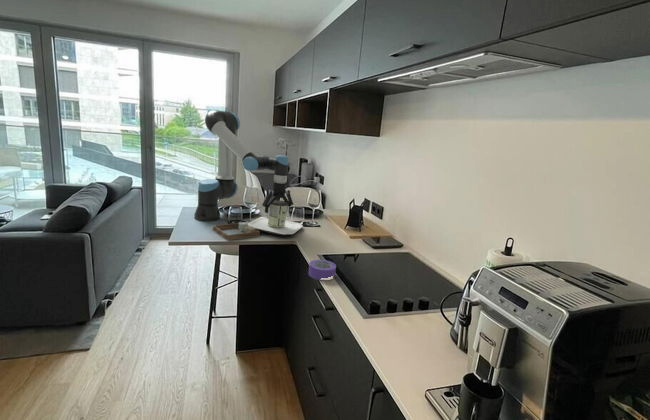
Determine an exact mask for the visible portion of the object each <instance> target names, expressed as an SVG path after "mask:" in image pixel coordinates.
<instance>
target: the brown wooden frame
mask: <svg viewBox="0 0 650 420" xmlns="http://www.w3.org/2000/svg"><path fill="white" fill-rule="evenodd" d="M239 223H240V222H236V223H227V224H224V223H223V224H217V225H216V224H215V225H212V231H214V232H215V233H217V234H218V235H219V236H221V237H222V238H223V239H225V240H226V241H231V240H239V239H246V238H247V239H248V238H252V237H253V238H254V237H260V233H261V231H258V230H256V229H255V232H248V233H245V232H242V233H234V234H233V233H232V234H228V233H227V232H225V231H223V230H228V229H236V228H237V229H238V226H239Z"/></svg>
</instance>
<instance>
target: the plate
mask: <svg viewBox="0 0 650 420" xmlns="http://www.w3.org/2000/svg"><path fill="white" fill-rule="evenodd" d="M265 217H266V216H260V217H257V218H256V219H254V220H251V221H249V222H246V223H247V224H248V226H252V227H254V228H255V229H256V230H258V231H260V232H263V233H268V234H271V235H277V236H283V237H284V236H293V235H294V234H296V233H298V232H299V231H300V230H301V229H303V228H304V226H303V225H302V224H301V223H299V222H296V221H291V220H286V219H285V226H284V227H273V226H270V225H268V219H267V218H265Z"/></svg>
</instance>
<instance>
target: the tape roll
mask: <svg viewBox="0 0 650 420" xmlns="http://www.w3.org/2000/svg"><path fill="white" fill-rule="evenodd" d="M336 268H337V264H336V263H334V262H333V261H330V260H328V259H327V260H326V259H313V260H311V261H310V262H309V266H308V276H309V277H310V278H312V279H314V280H316V281H321V280H320V279H321V278H328V277H331V276H333V275H334V274H335V275H336V270H337V269H336Z"/></svg>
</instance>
